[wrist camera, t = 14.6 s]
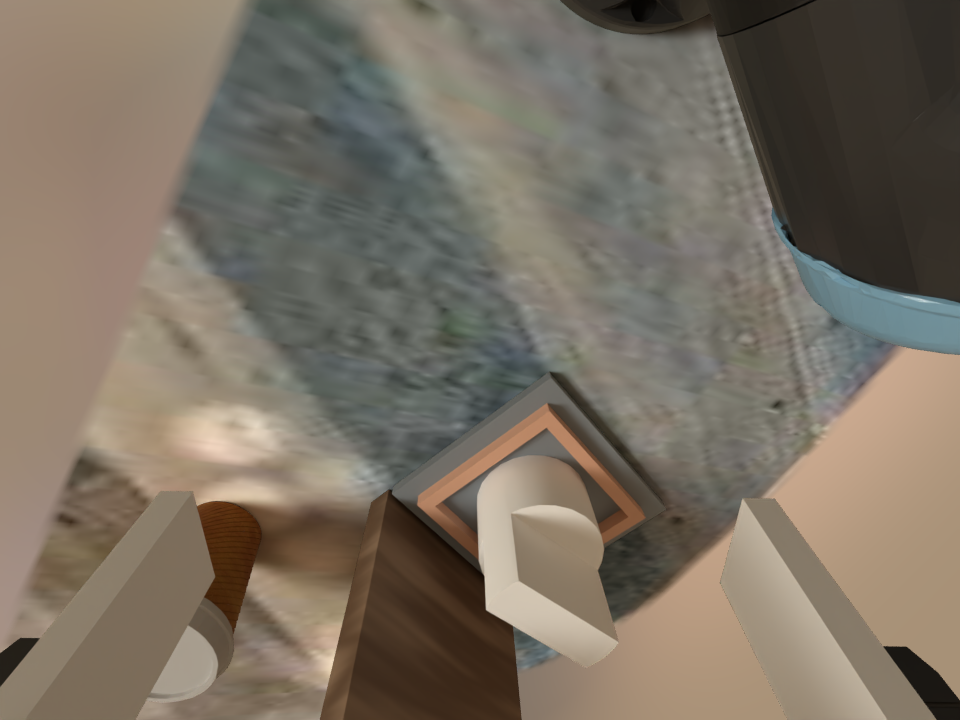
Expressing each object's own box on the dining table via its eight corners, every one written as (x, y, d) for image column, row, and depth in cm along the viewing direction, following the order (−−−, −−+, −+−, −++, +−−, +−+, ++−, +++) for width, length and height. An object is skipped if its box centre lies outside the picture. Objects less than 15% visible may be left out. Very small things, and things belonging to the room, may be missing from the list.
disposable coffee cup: (192, 466, 44) (102, 583, 33) (300, 518, 46) (250, 644, 35) (147, 543, 47) (52, 674, 36) (251, 588, 50) (190, 724, 39)
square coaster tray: (549, 371, 41) (553, 384, 39) (662, 501, 47) (671, 519, 45) (393, 486, 45) (390, 503, 43) (514, 594, 51) (516, 614, 49)
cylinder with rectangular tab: (609, 494, 45) (656, 617, 34) (535, 560, 48) (557, 694, 37) (527, 434, 42) (549, 547, 31) (454, 508, 45) (451, 635, 34)
